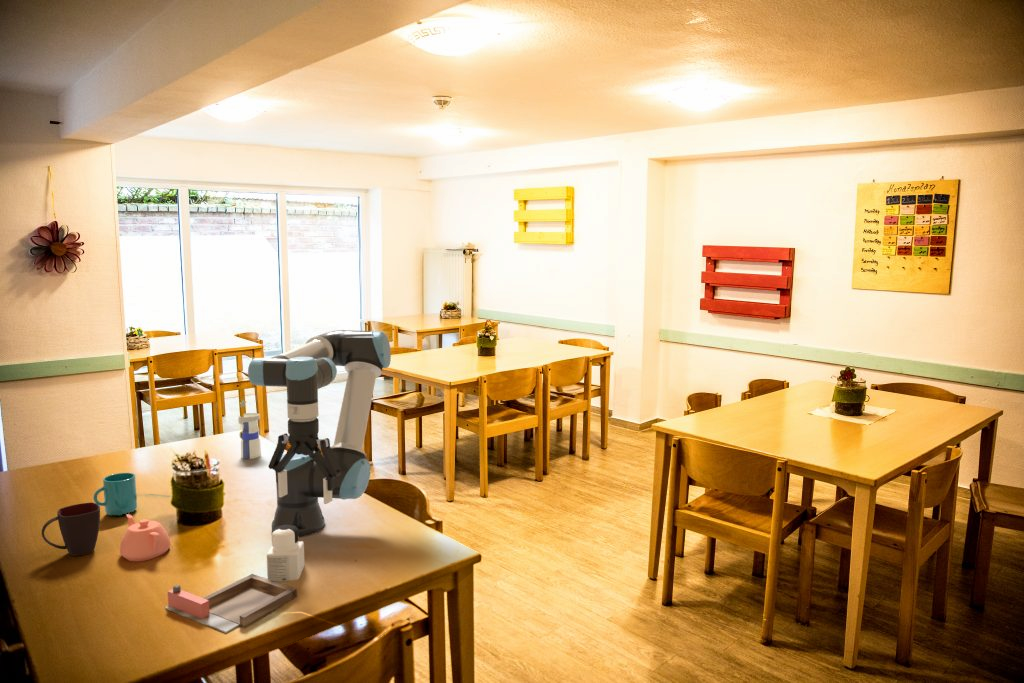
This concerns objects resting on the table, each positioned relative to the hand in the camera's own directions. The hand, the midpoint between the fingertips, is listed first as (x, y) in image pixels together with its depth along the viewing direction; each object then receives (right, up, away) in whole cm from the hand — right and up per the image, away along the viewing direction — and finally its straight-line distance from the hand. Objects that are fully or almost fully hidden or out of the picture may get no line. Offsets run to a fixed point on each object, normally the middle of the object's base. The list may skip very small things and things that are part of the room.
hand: (305, 499), depth 182 cm
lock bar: (-22, -22, -18) cm, 36 cm away
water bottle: (-49, -7, +94) cm, 106 cm away
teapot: (-48, -18, +14) cm, 54 cm away
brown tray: (-13, -22, -14) cm, 29 cm away
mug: (-68, -18, +13) cm, 71 cm away
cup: (-73, -14, +42) cm, 85 cm away
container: (-5, -20, +1) cm, 21 cm away
